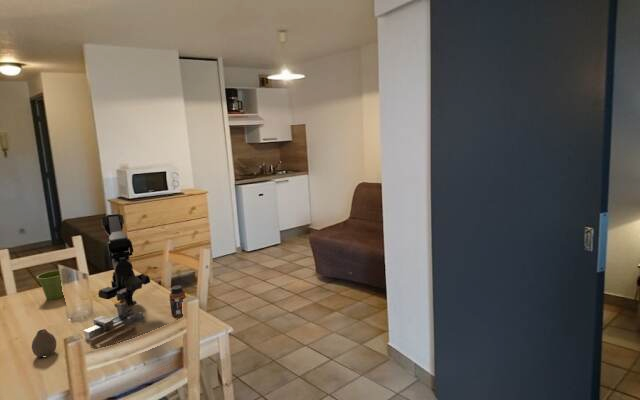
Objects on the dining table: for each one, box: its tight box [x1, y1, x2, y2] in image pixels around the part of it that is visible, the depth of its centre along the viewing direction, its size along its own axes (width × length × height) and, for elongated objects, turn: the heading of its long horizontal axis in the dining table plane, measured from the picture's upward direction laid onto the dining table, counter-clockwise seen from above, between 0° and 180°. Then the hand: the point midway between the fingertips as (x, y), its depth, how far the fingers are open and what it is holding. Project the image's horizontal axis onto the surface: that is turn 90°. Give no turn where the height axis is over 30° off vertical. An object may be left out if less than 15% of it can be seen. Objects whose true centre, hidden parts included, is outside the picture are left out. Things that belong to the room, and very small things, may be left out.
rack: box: [89, 324, 137, 349], centre depth 147 cm, size 7×13×2 cm, turn 149°
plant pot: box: [36, 269, 64, 300], centre depth 190 cm, size 12×12×11 cm
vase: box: [31, 328, 57, 358], centre depth 138 cm, size 7×7×9 cm
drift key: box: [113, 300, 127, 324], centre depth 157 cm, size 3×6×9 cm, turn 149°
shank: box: [83, 324, 103, 342], centre depth 151 cm, size 3×9×4 cm, turn 149°
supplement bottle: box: [169, 285, 186, 317], centre depth 164 cm, size 6×6×11 cm
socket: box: [92, 308, 145, 333], centre depth 158 cm, size 8×16×5 cm, turn 149°
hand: (128, 306), depth 161 cm, fingers closed
